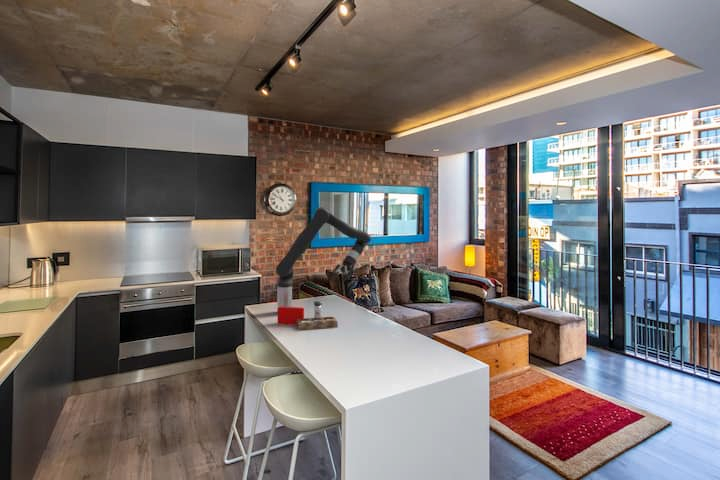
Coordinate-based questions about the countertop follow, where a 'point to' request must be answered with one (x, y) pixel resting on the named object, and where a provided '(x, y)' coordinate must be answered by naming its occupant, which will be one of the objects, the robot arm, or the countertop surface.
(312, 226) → the robot arm
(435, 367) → the countertop surface
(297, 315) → the play button
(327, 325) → the socket bar
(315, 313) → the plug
